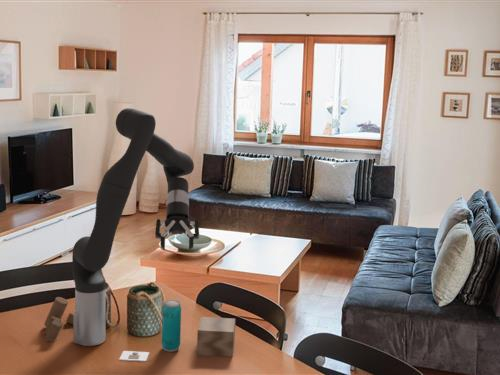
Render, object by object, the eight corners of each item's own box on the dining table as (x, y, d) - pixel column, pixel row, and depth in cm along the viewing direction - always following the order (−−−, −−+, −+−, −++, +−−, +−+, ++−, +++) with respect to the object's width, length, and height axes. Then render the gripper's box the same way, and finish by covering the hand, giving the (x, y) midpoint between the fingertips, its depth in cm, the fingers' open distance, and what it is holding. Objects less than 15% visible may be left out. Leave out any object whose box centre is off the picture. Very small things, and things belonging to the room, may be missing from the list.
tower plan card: (119, 360, 198) (119, 359, 198) (123, 351, 204) (123, 350, 204) (145, 361, 198) (145, 360, 198) (149, 353, 204) (149, 351, 203)
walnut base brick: (196, 354, 204) (197, 330, 202) (200, 340, 215) (201, 316, 213) (232, 356, 204) (233, 332, 202) (234, 342, 214) (235, 318, 213)
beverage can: (165, 343, 211) (166, 298, 208) (182, 346, 209) (184, 301, 207) (158, 350, 205) (159, 304, 203) (176, 353, 204) (177, 307, 201)
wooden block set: (55, 350, 208) (68, 323, 206) (30, 338, 208) (42, 310, 206) (75, 325, 226) (86, 300, 224) (52, 314, 226) (63, 289, 223)
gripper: (156, 200, 220) (154, 243, 211) (199, 200, 222) (199, 243, 213) (156, 211, 226) (154, 254, 217) (198, 212, 228) (198, 254, 219)
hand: (176, 248), depth 215 cm, fingers open, 8 cm apart
